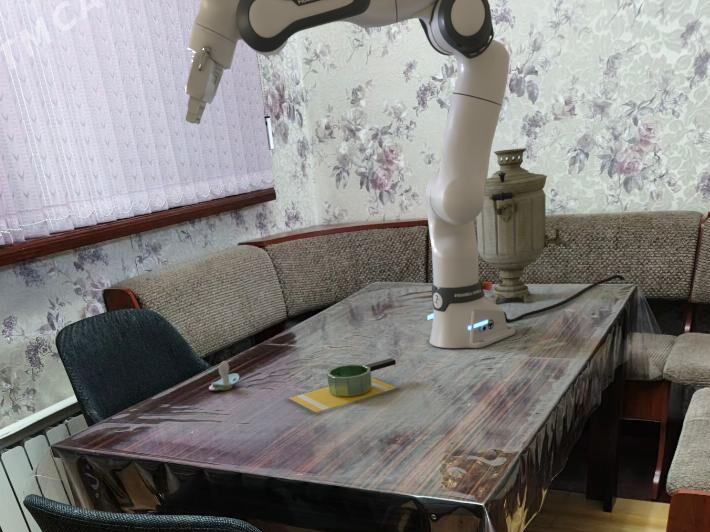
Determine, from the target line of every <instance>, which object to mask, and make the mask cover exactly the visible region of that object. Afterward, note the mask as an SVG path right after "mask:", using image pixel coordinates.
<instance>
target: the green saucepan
mask: <svg viewBox="0 0 710 532" xmlns="http://www.w3.org/2000/svg"><path fill="white" fill-rule="evenodd" d="M396 365H397V361H396V359H394V358H391V357H390V358H386V359H383V360H379V361H375V362H372V363H368V364H356V363H355V364H353V363H350V364H344V365H338V366H335V367H333V368H331V369H329V370H328V372H327V374H326V375H327V384H328V387H329V392H330V393H331V394H334V395H336V396H341V397H352V396H358V395H362V394H364V393H366V392H368V391H370V390H371V389H372V380H371V377H372V372H375V371H377V370H380V369H385V368H388V367H392V366H396Z"/></svg>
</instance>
